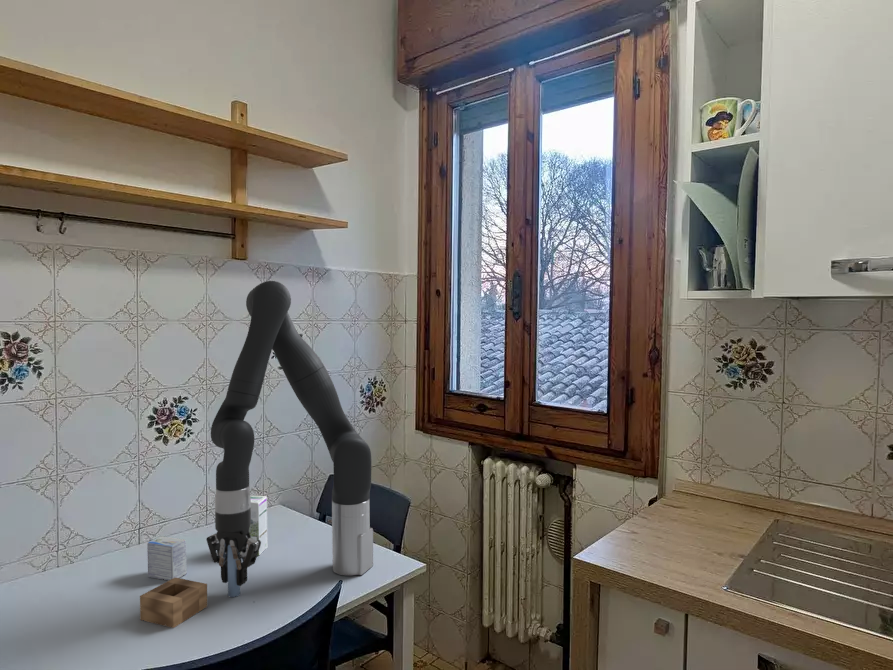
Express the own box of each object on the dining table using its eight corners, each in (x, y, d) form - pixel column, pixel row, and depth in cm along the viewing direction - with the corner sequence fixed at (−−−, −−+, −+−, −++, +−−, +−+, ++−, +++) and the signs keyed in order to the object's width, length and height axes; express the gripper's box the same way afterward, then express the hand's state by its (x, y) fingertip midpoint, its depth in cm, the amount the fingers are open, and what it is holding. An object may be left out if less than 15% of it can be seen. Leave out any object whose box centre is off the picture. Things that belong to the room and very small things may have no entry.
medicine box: (187, 574, 137) (186, 539, 136) (172, 582, 132) (172, 546, 132) (162, 570, 139) (161, 535, 139) (147, 577, 135) (146, 542, 135)
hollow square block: (207, 606, 121) (206, 583, 120) (173, 627, 112) (173, 603, 112) (175, 599, 124) (175, 577, 124) (140, 619, 115) (139, 595, 115)
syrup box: (268, 547, 153) (267, 494, 152) (259, 556, 147) (258, 501, 146) (248, 547, 153) (247, 494, 153) (238, 555, 147) (237, 501, 147)
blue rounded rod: (242, 592, 127) (242, 538, 127) (234, 597, 124) (234, 543, 124) (233, 590, 128) (232, 537, 128) (225, 596, 125) (224, 541, 125)
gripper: (269, 505, 127) (270, 580, 127) (220, 498, 132) (221, 571, 132) (247, 515, 120) (248, 595, 120) (195, 508, 125) (196, 585, 125)
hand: (233, 582), depth 126 cm, fingers open, 3 cm apart
